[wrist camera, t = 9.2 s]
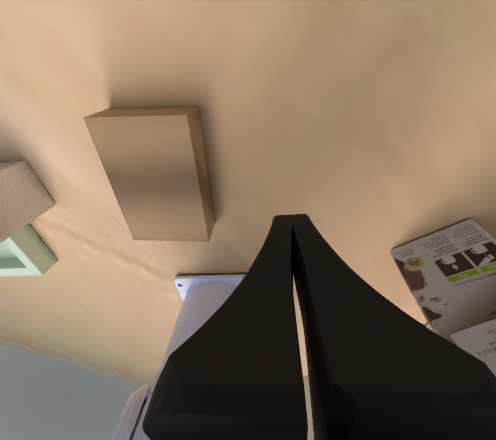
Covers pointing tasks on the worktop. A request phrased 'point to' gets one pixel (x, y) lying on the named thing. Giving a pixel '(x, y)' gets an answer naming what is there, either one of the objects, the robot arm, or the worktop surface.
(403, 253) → the coffee box
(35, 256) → the green tray
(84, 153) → the worktop surface
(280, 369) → the robot arm
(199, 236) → the brown rectangular block
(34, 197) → the block
